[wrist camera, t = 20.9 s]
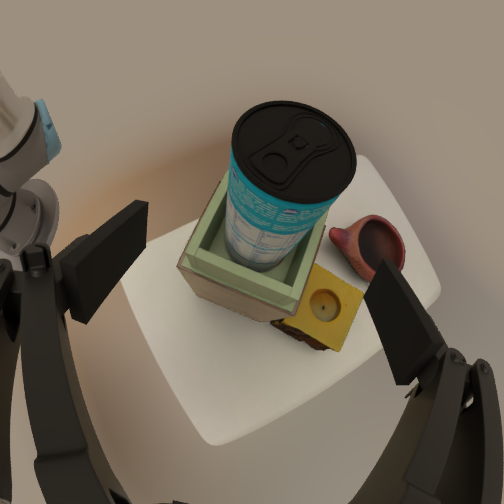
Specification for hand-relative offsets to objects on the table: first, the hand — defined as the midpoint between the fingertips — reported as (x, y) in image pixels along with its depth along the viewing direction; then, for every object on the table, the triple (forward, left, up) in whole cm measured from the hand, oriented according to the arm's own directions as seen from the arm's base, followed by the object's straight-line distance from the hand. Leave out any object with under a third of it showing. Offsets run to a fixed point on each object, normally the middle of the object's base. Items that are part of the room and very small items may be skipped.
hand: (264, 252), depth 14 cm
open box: (-1, +4, -11) cm, 12 cm away
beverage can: (-1, +4, -11) cm, 12 cm away
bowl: (+19, +18, -33) cm, 43 cm away
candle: (+12, +4, -33) cm, 36 cm away
